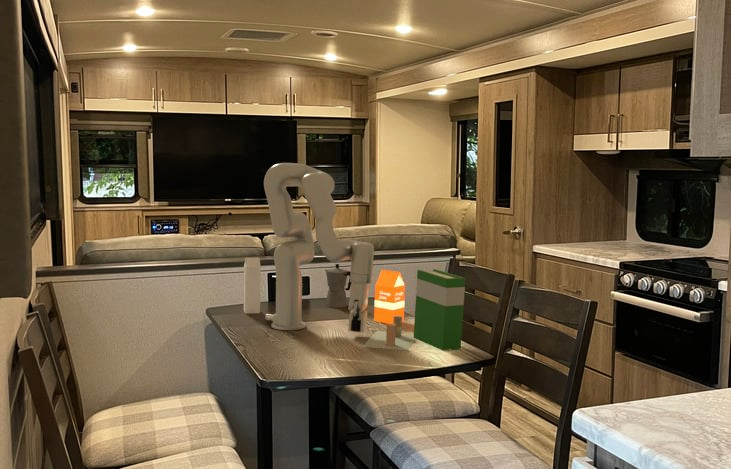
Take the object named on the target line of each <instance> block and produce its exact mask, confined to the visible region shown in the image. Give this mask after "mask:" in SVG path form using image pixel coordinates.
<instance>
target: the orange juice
mask: <svg viewBox="0 0 731 469" xmlns="http://www.w3.org/2000/svg"><path fill="white" fill-rule="evenodd" d="M405 291H406V284H405V281H404V280H403V277H402V274H401V272H400V271H394V270H386V269H381V271H380V273H379V276H378V278H377V280H376V283H375V286H374V315H373V318H374V322H378V323H382V324H393V321H394V316H395V315H396V316H402V322H403V323H404V322H405V321H404V319H405Z"/></svg>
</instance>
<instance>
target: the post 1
mask: <svg viewBox="0 0 731 469" xmlns="http://www.w3.org/2000/svg"><path fill="white" fill-rule="evenodd" d="M386 332H387V335H386V346H393V347H394V346H395V335H396V324H388V323H386Z"/></svg>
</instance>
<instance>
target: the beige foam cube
mask: <svg viewBox="0 0 731 469" xmlns="http://www.w3.org/2000/svg"><path fill="white" fill-rule="evenodd" d="M352 311H353V309H352V310H351V311H349V318H348V319H349V320H348V330H347V331H349V332H355V333H357V332H356V331H351V321H352ZM357 311H359V310H357ZM357 314H358V315H359V313H357ZM360 320H361V327H360V332H359V333H361V334H363V333H364V332H365V331H366V330H367V324H368V323H367V322H368V310H363V311H362V312H361V316H360Z"/></svg>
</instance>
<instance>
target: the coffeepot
mask: <svg viewBox="0 0 731 469" xmlns="http://www.w3.org/2000/svg"><path fill="white" fill-rule="evenodd" d="M325 273H326V279H327V280H326V281H327V282H326V283H327V287H328V292H327V296H326V300H325V306H326V307H328V308H332V309H333V308H334V309H337V308H338V309H339V308H341V309H342V308H346V307H347V306H348V300H347V299H348V298H347V293H346V291H350V290H351V285H352V282H350V273H351V270H350V271H349V270H346V269H343V268H340V263H335V268H331V269H330V268H329V269H325ZM348 278H349V279H348ZM347 280H348V283H347ZM346 286H347V287H346Z"/></svg>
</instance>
